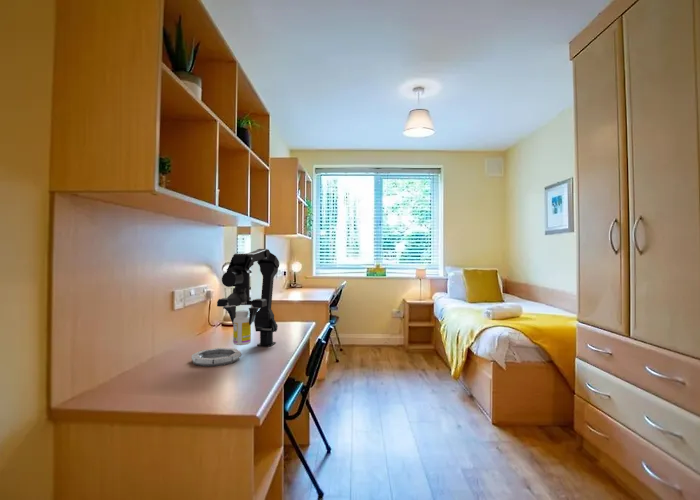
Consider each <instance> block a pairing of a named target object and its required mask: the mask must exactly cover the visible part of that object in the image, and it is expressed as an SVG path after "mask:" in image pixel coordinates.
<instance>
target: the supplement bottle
mask: <svg viewBox="0 0 700 500" xmlns="http://www.w3.org/2000/svg"><path fill="white" fill-rule="evenodd" d="M232 325H233V326H232V328H233V334H232V335H233V336H232V337H233V339H232V342H233V344H234V345H236V346H245V345H249V344H251V342H252V336H251V335H252V333H251V332H252V330H251V329H252V324H251V325H249V310H244V309H243V310H236V318H234V320H233V324H232Z"/></svg>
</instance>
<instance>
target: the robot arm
mask: <svg viewBox="0 0 700 500" xmlns="http://www.w3.org/2000/svg"><path fill="white" fill-rule="evenodd" d="M254 263H256V264H257V265H258V266H259V272H260V274H261V275H262V283H261V294H260V295H261V297H260V298H255V299H252V297H250V292H251V290H252V287H251V286H250V284H251V283H250V282H251V281H250V277H251V273H253V272H252V270H251V269H250V268H252V267H253V266H254V265H255V264H254ZM279 268H280V261H279V259H278V257H277V256H276V255H275V254H273V253H272V252H270V250H269V249H268V248H258V249H256V250H253V251H250V252H247V253H234V254H233V255H232V257H231V260H230V262H229V265H228V267H227V268H226V272H224V273H223V275H222V277H221V282H222V285H224V286H225V287H226V288H231V287H232V293H230V294H229V295H228V296H227V297H223V298H219V299H218V300H217V301H216V307H222V308H223V310H224V309H225V311H227V313H228V315H229V318H230V321H231V324H232V325H233V320H234V318H236V317H237V315H236V311H237V307H239V306H250V307H248V312H249V314H248V317H249V325H251V326H252V324H254V329H255V332H259V343H257V344H256V346H258V347H271V346H273V345H275V344H276V343H277V342H276V341H274V332H276V333H277V332H278V326H279V325H278V324H277V322H276V320H275V314H274V312H273V310H272V303H273V290H274V280H275V279H274V278H275V276H276V275H277V273H278V272H279Z"/></svg>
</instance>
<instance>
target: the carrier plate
mask: <svg viewBox="0 0 700 500" xmlns="http://www.w3.org/2000/svg"><path fill="white" fill-rule="evenodd" d="M241 357H242V352H241V351H240V350H239V349H237V348H229V347H217V348H210V349H203V350H200V351H197V352H194V353H193V354H191V361H192V364H193V365H195V366H199V367H220V366H221V367H222V366H227V365H230V364H234V363H236V362H238V361H239V360H240V358H241Z"/></svg>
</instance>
